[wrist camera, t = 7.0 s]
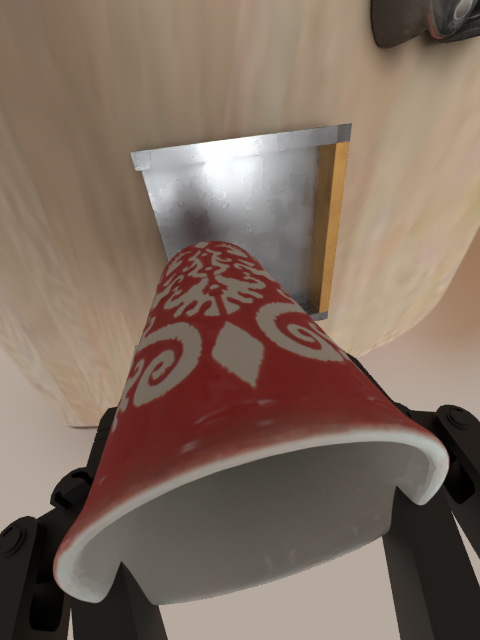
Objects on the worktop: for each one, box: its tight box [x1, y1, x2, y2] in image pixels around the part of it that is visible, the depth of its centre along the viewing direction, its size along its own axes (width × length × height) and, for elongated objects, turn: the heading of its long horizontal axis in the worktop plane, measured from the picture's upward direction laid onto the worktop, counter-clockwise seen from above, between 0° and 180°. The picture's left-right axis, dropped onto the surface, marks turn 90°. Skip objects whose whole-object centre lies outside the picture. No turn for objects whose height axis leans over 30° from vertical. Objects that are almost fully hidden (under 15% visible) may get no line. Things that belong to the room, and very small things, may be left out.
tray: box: [130, 123, 352, 321], centre depth 27 cm, size 20×18×4 cm
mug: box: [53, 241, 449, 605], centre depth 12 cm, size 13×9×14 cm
